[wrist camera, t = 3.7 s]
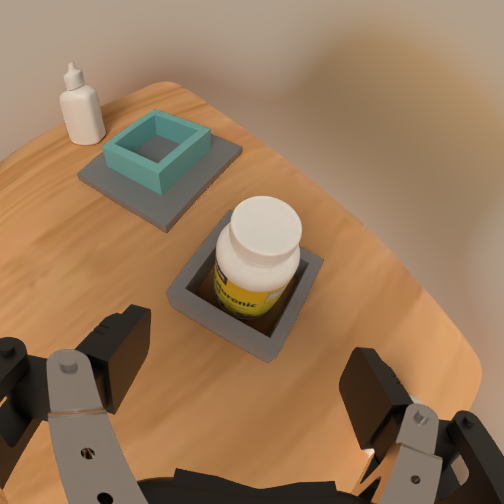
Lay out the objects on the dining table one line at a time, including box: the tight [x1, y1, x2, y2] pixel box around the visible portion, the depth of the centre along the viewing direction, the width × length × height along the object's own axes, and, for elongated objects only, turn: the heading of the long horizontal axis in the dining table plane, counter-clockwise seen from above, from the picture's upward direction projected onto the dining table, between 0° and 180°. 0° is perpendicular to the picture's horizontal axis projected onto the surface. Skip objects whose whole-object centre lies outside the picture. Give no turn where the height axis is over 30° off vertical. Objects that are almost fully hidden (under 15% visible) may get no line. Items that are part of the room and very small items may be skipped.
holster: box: [166, 210, 324, 363], centre depth 22 cm, size 9×9×3 cm
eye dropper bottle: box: [59, 62, 106, 145], centre depth 26 cm, size 4×6×12 cm
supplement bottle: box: [214, 196, 302, 319], centre depth 19 cm, size 5×5×10 cm
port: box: [77, 109, 242, 233], centre depth 28 cm, size 14×14×4 cm
